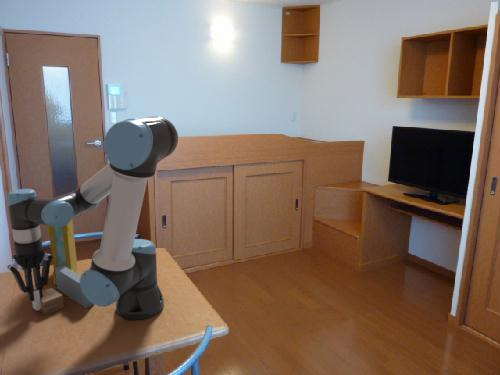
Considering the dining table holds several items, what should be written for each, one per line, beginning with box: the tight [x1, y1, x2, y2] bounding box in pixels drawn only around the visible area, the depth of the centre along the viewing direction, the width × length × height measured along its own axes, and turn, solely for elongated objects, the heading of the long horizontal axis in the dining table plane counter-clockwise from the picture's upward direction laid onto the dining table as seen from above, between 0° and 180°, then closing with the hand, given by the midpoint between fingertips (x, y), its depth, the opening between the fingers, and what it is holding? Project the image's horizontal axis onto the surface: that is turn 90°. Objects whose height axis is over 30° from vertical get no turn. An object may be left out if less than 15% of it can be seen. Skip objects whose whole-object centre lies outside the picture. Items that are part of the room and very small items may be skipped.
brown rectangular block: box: [39, 287, 65, 316], centre depth 132 cm, size 8×6×4 cm
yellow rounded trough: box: [46, 219, 78, 286], centre depth 153 cm, size 17×7×25 cm, turn 17°
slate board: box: [55, 265, 95, 309], centre depth 138 cm, size 20×3×8 cm, turn 50°
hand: (37, 308), depth 129 cm, fingers closed
